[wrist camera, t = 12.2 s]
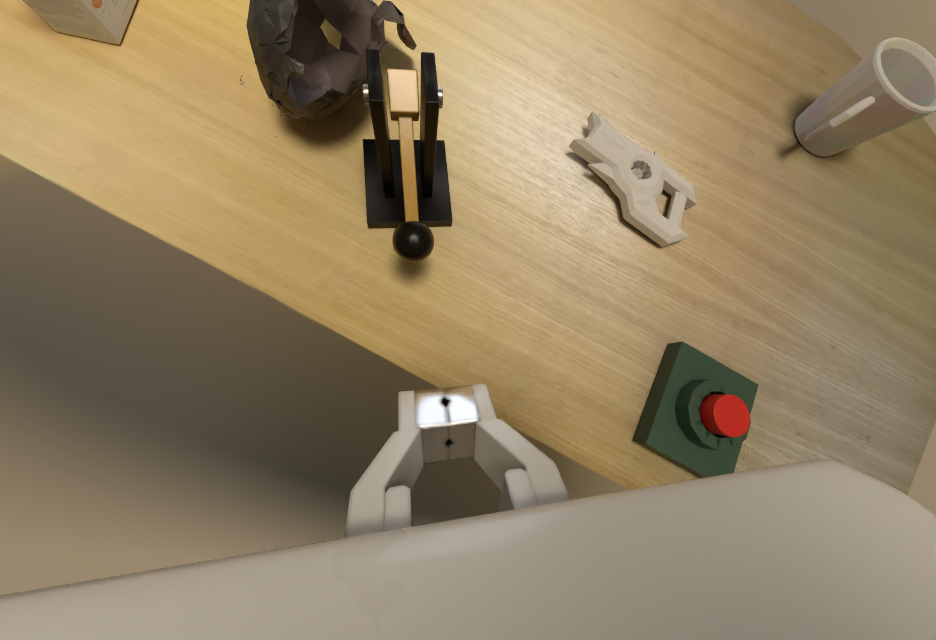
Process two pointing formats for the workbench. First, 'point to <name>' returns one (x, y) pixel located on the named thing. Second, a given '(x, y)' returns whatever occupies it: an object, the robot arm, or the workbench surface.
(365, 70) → the crumpled paper
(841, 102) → the mug
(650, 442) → the button box
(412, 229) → the lever
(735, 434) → the button
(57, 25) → the small box
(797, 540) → the robot arm
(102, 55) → the workbench surface
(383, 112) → the black lever stand
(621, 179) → the beige holed clip
